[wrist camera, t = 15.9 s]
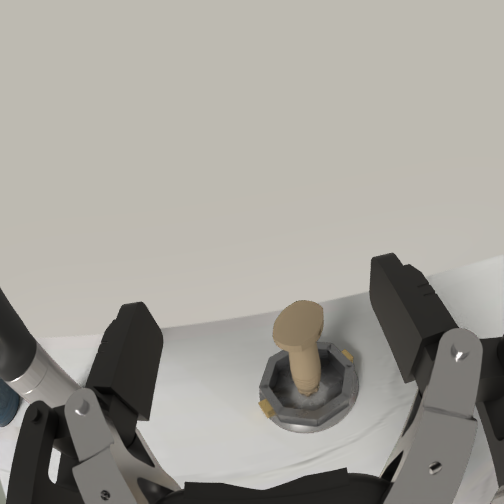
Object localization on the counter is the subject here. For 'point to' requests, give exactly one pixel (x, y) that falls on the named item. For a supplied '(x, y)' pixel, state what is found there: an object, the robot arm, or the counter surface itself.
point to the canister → (7, 403)
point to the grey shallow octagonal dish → (317, 404)
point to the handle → (301, 342)
